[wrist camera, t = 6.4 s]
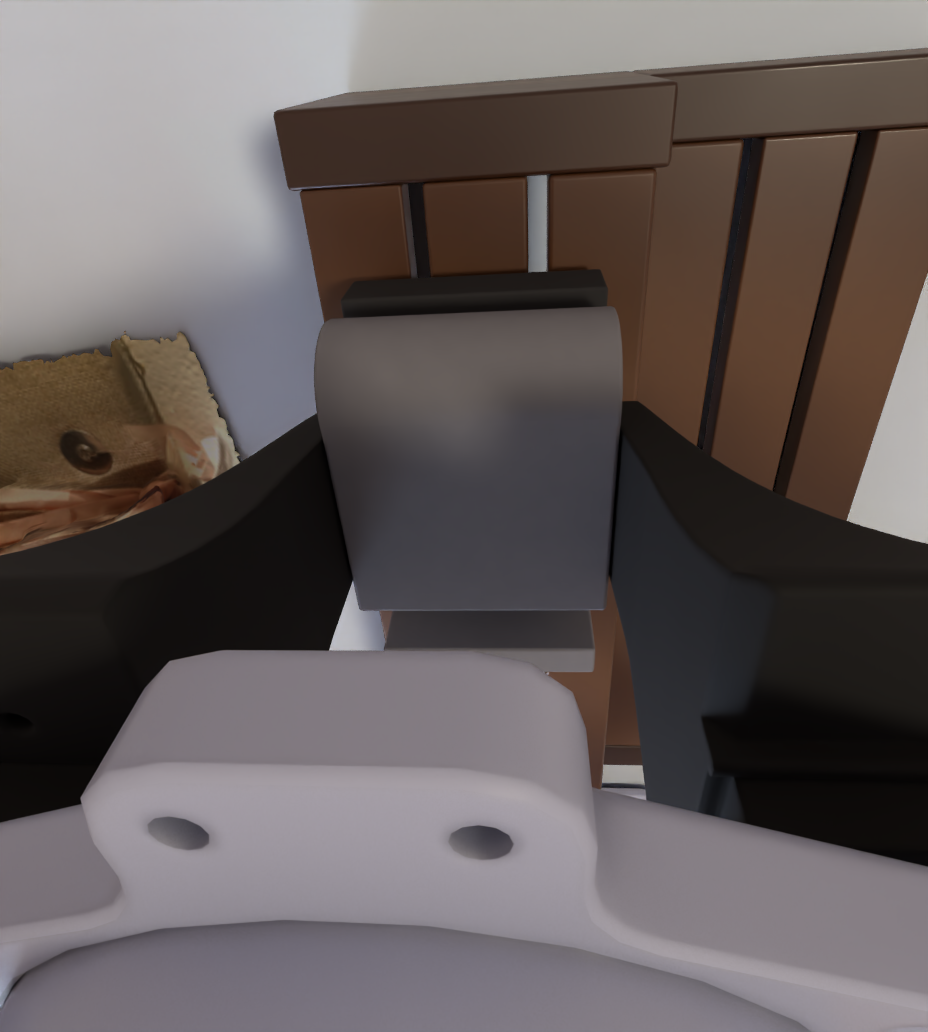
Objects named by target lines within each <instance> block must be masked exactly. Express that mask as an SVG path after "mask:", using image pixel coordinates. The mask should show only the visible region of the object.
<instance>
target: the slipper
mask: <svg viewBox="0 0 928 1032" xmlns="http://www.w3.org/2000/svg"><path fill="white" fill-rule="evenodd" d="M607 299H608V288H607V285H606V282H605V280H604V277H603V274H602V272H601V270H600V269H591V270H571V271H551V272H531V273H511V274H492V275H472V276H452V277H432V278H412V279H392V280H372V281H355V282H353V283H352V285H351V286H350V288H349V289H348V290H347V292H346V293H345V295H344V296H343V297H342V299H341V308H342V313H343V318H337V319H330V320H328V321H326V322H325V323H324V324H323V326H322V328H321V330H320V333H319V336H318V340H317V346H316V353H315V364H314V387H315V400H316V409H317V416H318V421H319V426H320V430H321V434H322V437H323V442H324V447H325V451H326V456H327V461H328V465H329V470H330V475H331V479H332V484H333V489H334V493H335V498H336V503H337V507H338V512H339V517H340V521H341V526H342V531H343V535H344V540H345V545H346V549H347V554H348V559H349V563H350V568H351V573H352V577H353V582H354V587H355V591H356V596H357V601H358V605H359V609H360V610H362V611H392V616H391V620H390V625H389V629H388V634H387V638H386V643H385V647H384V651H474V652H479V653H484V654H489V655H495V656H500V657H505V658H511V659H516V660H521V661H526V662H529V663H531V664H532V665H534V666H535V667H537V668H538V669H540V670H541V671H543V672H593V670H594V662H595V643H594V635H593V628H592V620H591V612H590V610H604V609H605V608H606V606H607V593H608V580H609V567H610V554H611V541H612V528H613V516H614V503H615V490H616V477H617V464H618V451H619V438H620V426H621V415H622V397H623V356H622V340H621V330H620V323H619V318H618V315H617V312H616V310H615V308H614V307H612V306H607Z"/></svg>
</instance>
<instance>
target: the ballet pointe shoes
mask: <svg viewBox="0 0 928 1032" xmlns="http://www.w3.org/2000/svg"><path fill="white" fill-rule="evenodd" d="M125 332H126V331H124V333H125ZM189 346H190V344H188V342H187V339H186V337H185V336H184V335H183V334H182V333H181V332H179V333H177V339H176V340H175V341H173V342H172V341H171V340H169V339H168V338H166V339H165V340H164V339H163V338H161V337H160V344H159V343H158V342H157V341H155V340H154V339H151V340H146V341H144V340H131V341H130V338H129V337H128V336H126V335H123V336H121V339H120V340H118V339H116V338H115V340H114V341H112V342H111V346H110V350H111V353H112V357H109V356H103V355H102V354H101V353H100V352H99V350H98V349H95V352H94V353H93V354H90V353H82V354H81V355H78V356H77V355H75V354H72V356H68V358H67V357H65V356H64V355H63V356H62V358H61V359H58V360H56V361H55V362H54V363H53V362H52V360H51V362H52V363H51V362H49V361H46V363H45V364H44V362H43V360H42V359H38V360H31V361H30V362H28V361H20V362H18V363H13V368H14V370H12V369H10V368H8V367H5V368H4V369H3V370H1V369H0V555H4V554H9V553H13V552H18V551H22V550H26V549H30V548H34V547H37V546H41V545H45V544H48V543H52V542H55V541H59V540H62V539H66V538H69V537H73V536H76V535H79V534H82V533H85V532H88V531H91V530H95V529H98V528H101V527H104V526H106V525H109V524H112V523H114V522H117V521H119V520H122V519H125V518H127V517H130V516H132V515H135V514H138V513H140V512H143V511H145V510H148V509H151V508H153V507H156V506H158V505H160V504H163V503H165V502H167V501H169V500H171V499H174V498H176V497H178V496H180V495H182V494H184V493H186V492H188V491H190V490H193V489H194V488H196V487H198V486H200V485H202V484H204V483H206V482H208V481H210V480H212V479H213V478H215V477H217V476H219V475H220V474H222V473H224V472H225V471H227V470H229V469H230V468H232V467H234V466H235V465H237V464H239V463H240V462H239V460H238V459H237V457H236V456H239V453H237V452H236V451H234V449H235V446H234V445H233V442H234V441H233V439H232V438H231V436H228V435H227V434H228V433H229V432H228V431H227V430H226V428H227V425H226V421H225V420H224V419H223V418H220V417H219V416H218V413H217V410H216V409H217V408H218V407H219V405H217V404H216V402H215V400H214V399H212V398H210V397H212V396H214V394H210V393H208V392H207V390H208V389H209V388H210V387H208V386H207V385H206V382H207V379H206V377H205V376H204V373H203V370H202V369H201V367H200V363H199V361H198V360H197V359H196V355H195V352H191V351H190V350H189ZM50 359H51V358H50Z"/></svg>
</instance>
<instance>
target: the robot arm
mask: <svg viewBox="0 0 928 1032" xmlns="http://www.w3.org/2000/svg"><path fill="white" fill-rule="evenodd" d="M609 577H610V581H611V585H612V589H613V593H614V596H615V600H616V604H617V608H618V612H619V616H620V620H621V624H622V628H623V632H624V636H625V640H626V645H627V650H628V655H629V661H630V668H631V676H632V683H633V691H634V698H635V706H636V714H637V722H638V731H639V739H640V747H641V755H642V764H643V773H644V782H645V789H638V788H601V790H600V789H596V788H592V784H591V774H590V764H589V754H588V743H587V733H586V727H585V724H584V722H583V719H582V716H581V713H580V711H579V708H578V705H577V703H576V700H575V697H574V694H573V692H572V691H570V690H569V689H567V688H566V687H564V686H563V685H562V684H560V683H559V682H557V681H556V680H554V679H553V678H551V677H550V676H548V675H547V674H545V673H544V672H543V671H541V670H540V669H538V668H537V667H535V666H534V665H532V664H531V663H529V662H526V661H521V660H516V659H511V658H505V657H500V656H495V655H489V654H484V653H479V652H474V651H329V649H330V645H331V642H332V638H333V635H334V632H335V629H336V627H337V624H338V621H339V618H340V615H341V612H342V610H343V607H344V604H345V601H346V598H347V595H348V592H349V590H350V587H351V584H352V581H353V577H352V573H351V568H350V563H349V559H348V554H347V549H346V545H345V540H344V535H343V531H342V526H341V521H340V517H339V512H338V507H337V503H336V498H335V493H334V489H333V484H332V479H331V475H330V470H329V465H328V461H327V456H326V451H325V447H324V442H323V437H322V434H321V430H320V426H319V421H318V416H317V414H315V415H313V416H312V417H310V418H308V419H307V420H305V421H304V422H302V423H300V424H299V425H297V426H296V427H294V428H293V429H291V430H290V431H288V432H287V433H285V434H284V435H282V436H281V437H279V438H278V439H276V440H275V441H273V442H272V443H270V444H269V445H267V446H266V447H264V448H263V449H261V450H260V451H258V452H257V453H255V454H254V455H252V456H250V457H249V458H247V459H245V460H244V461H242V462H240V463H239V464H237V465H235V466H234V467H232V468H230V469H229V470H227V471H225V472H224V473H222V474H220V475H219V476H217V477H215V478H213V479H212V480H210V481H208V482H206V483H204V484H202V485H200V486H198V487H196V488H194V489H193V490H190V491H188V492H186V493H184V494H182V495H180V496H178V497H176V498H174V499H171V500H169V501H167V502H165V503H163V504H160V505H158V506H156V507H153V508H151V509H148V510H145V511H143V512H140V513H138V514H135V515H132V516H130V517H127V518H125V519H122V520H119V521H117V522H114V523H112V524H109V525H106V526H104V527H101V528H98V529H95V530H91V531H88V532H85V533H82V534H79V535H76V536H73V537H69V538H66V539H62V540H59V541H55V542H52V543H48V544H45V545H41V546H37V547H34V548H30V549H26V550H22V551H18V552H13V553H9V554H4V555H0V1032H928V544H926V543H921V542H917V541H912V540H909V539H905V538H901V537H898V536H894V535H891V534H887V533H884V532H880V531H877V530H874V529H870V528H867V527H863V526H860V525H857V524H854V523H851V522H848V521H845V520H842V519H839V518H836V517H833V516H830V515H828V514H825V513H823V512H820V511H818V510H815V509H813V508H810V507H808V506H805V505H802V504H800V503H797V502H795V501H793V500H790V499H788V498H786V497H784V496H781V495H779V494H777V493H775V492H773V491H771V490H769V489H767V488H765V487H763V486H761V485H759V484H757V483H755V482H753V481H751V480H749V479H747V478H746V477H744V476H742V475H740V474H739V473H737V472H735V471H733V470H732V469H730V468H729V467H727V466H725V465H724V464H722V463H721V462H719V461H718V460H716V459H714V458H713V457H711V456H710V455H708V454H707V453H705V452H704V451H702V450H701V449H700V448H698V447H697V446H695V445H694V444H693V443H691V442H690V441H688V440H687V439H686V438H685V437H683V436H682V435H681V434H679V433H678V432H677V431H675V430H674V429H673V428H672V427H670V426H669V425H668V424H667V423H665V422H664V421H663V420H662V419H660V418H659V417H658V416H657V415H655V414H654V413H653V412H652V411H651V410H649V409H648V408H647V407H645V406H644V405H643V404H642V403H640V402H639V401H622V415H621V426H620V438H619V451H618V464H617V477H616V490H615V503H614V516H613V528H612V541H611V554H610V567H609Z"/></svg>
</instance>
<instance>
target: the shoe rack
mask: <svg viewBox="0 0 928 1032" xmlns="http://www.w3.org/2000/svg"><path fill="white" fill-rule="evenodd" d="M274 121H275V126H276V131H277V136H278V141H279V146H280V151H281V156H282V161H283V166H284V171H285V176H286V181H287V186H288V188H289V190H292V191H299V190H302V191H301V192H300V197H301V203H302V208H303V213H304V218H305V223H306V229H307V234H308V239H309V244H310V250H311V255H312V260H313V265H314V271H315V276H316V281H317V286H318V292H319V297H320V302H321V307H322V312H323V318H324V323H325V322H326V321H328V320H330V319H337V318H343V313H342V308H341V299H342V297H343V296H344V295H345V293H346V292H347V290H348V289H349V288H350V286H351V285H352V283H353V282H355V281H372V280H392V279H412V278H417V269H416V259H415V250H414V240H413V230H412V221H411V211H410V202H409V192H408V184H409V183H424V184H423V187H422V191H423V201H424V212H425V223H426V233H427V244H428V255H429V265H430V276H431V278H432V277H452V276H472V275H492V274H511V273H528V182H527V176H535V175H547V272H551V271H571V270H591V269H600V270H601V272H602V274H603V277H604V280H605V282H606V285H607V288H608V299H607V306H612V307H614V308H615V310H616V312H617V315H618V318H619V323H620V330H621V340H622V356H623V397H622V401H639V402H640V403H642V404H643V405H644V406H645V407H647V408H648V409H649V410H651V411H652V412H653V413H654V414H655V415H657V416H658V417H659V418H660V419H662V420H663V421H664V422H665V423H667V424H668V425H669V426H670V427H672V428H673V429H674V430H675V431H677V432H678V433H679V434H681V435H682V436H683V437H685V438H686V439H687V440H688V441H690V442H691V443H693V444H694V445H695V446H697V443H698V437H699V430H700V424H701V417H702V411H703V404H704V398H705V392H706V385H707V379H708V372H709V366H710V359H711V353H712V346H713V340H714V333H715V327H716V321H717V314H718V308H719V301H720V295H721V288H722V282H723V275H724V269H725V262H726V256H727V250H728V243H729V237H730V230H731V224H732V217H733V211H734V204H735V198H736V191H737V185H738V179H739V172H740V166H741V159H742V153H743V146H744V142H743V140H742V139H744V138H753V141H752V147H751V153H750V159H749V165H748V172H747V178H746V184H745V190H744V197H743V203H742V209H741V215H740V221H739V228H738V234H737V240H736V246H735V252H734V259H733V265H732V271H731V277H730V283H729V290H728V296H727V302H726V308H725V314H724V321H723V327H722V333H721V339H720V345H719V352H718V358H717V364H716V370H715V376H714V383H713V389H712V395H711V401H710V407H709V414H708V420H707V426H706V432H705V438H704V445H703V451H704V452H705V453H707V454H708V455H710V456H711V457H713V458H714V459H716V460H718V461H719V462H721V463H722V464H724V465H725V466H727V467H729V468H730V469H732V470H733V471H735V472H737V473H739V474H740V475H742V476H744V477H746V478H747V479H749V480H751V481H753V482H755V483H757V484H759V485H761V486H763V487H765V488H767V489H769V490H771V491H772V490H773V486H774V481H775V477H776V473H777V469H778V465H779V461H780V456H781V452H782V448H783V444H784V440H785V436H786V431H787V427H788V423H789V419H790V415H791V411H792V406H793V402H794V398H795V394H796V390H797V386H798V381H799V377H800V373H801V369H802V365H803V361H804V356H805V352H806V348H807V344H808V340H809V336H810V331H811V327H812V323H813V319H814V315H815V311H816V306H817V302H818V298H819V294H820V290H821V286H822V281H823V277H824V273H825V269H826V265H827V261H828V257H829V252H830V248H831V244H832V240H833V236H834V232H835V227H836V223H837V219H838V215H839V211H840V207H841V202H842V198H843V194H844V190H845V186H846V182H847V177H848V173H849V169H850V165H851V161H852V157H853V152H854V148H855V144H856V140H857V136H858V133H857V132H856V131H861V135H860V139H859V143H858V147H857V151H856V156H855V160H854V164H853V168H852V172H851V176H850V180H849V184H848V189H847V193H846V197H845V201H844V205H843V209H842V213H841V218H840V222H839V226H838V230H837V234H836V238H835V242H834V246H833V251H832V255H831V259H830V263H829V267H828V271H827V275H826V279H825V284H824V288H823V292H822V296H821V300H820V304H819V308H818V312H817V317H816V321H815V325H814V329H813V333H812V337H811V341H810V345H809V350H808V354H807V358H806V362H805V366H804V370H803V374H802V378H801V383H800V387H799V391H798V395H797V399H796V403H795V407H794V411H793V416H792V420H791V424H790V428H789V432H788V436H787V440H786V444H785V449H784V453H783V457H782V461H781V465H780V469H779V473H778V478H777V482H776V486H775V490H774V492H775V493H777V494H779V495H781V496H784V497H786V498H788V499H790V500H793V501H795V502H797V503H800V504H802V505H805V506H808V507H810V508H813V509H815V510H818V511H820V512H823V513H825V514H828V515H830V516H833V517H836V518H839V519H842V520H845V521H846V520H847V517H848V514H849V511H850V508H851V505H852V502H853V499H854V496H855V493H856V490H857V487H858V483H859V480H860V477H861V474H862V471H863V468H864V465H865V462H866V459H867V456H868V453H869V450H870V447H871V444H872V441H873V438H874V435H875V432H876V428H877V425H878V422H879V419H880V416H881V413H882V410H883V407H884V404H885V401H886V398H887V395H888V392H889V389H890V386H891V383H892V380H893V376H894V373H895V370H896V367H897V364H898V361H899V358H900V355H901V352H902V349H903V346H904V343H905V340H906V337H907V334H908V331H909V328H910V325H911V321H912V318H913V315H914V312H915V309H916V306H917V303H918V300H919V297H920V294H921V291H922V288H923V285H924V282H925V279H926V276H927V273H928V48H920V49H907V50H894V51H881V52H868V53H855V54H843V55H830V56H817V57H804V58H791V59H778V60H765V61H752V62H739V63H726V64H713V65H701V66H688V67H675V68H662V69H649V70H636V71H634V72H629V71H623V72H610V73H597V74H584V75H571V76H558V77H545V78H533V79H520V80H507V81H494V82H481V83H468V84H455V85H442V86H429V87H416V88H403V89H391V90H378V91H365V92H352V93H344V94H340V95H336V96H332V97H328V98H324V99H321V100H317V101H313V102H309V103H305V104H301V105H297V106H293V107H289V108H285V109H281V110H277V111H276V112H274ZM590 612H591V620H592V628H593V635H594V643H595V662H594V670H593V672H545V674H547V675H548V676H550V677H551V678H553V679H554V680H556V681H557V682H559V683H560V684H562V685H563V686H564V687H566V688H567V689H569V690H570V691H572V692H573V694H574V697H575V700H576V703H577V705H578V708H579V711H580V713H581V716H582V719H583V722H584V724H585V727H586V733H587V743H588V754H589V764H590V774H591V784H592V788H596V789H600V790H601V786H602V775H603V765H643V764H642V755H641V747H640V739H639V731H638V722H637V714H636V706H635V698H634V691H633V683H632V676H631V668H630V661H629V655H628V650H627V645H626V640H625V636H624V632H623V628H622V624H621V620H620V616H619V612H618V608H617V604H616V600H615V596H614V593H613V589H612V585H611V581H610V577H609V580H608V593H607V606H606V608H605V609H604V610H590ZM380 616H381V621H382V626H383V632H384V637H385V642H386V638H387V634H388V629H389V625H390V620H391V616H392V611H380Z"/></svg>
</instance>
